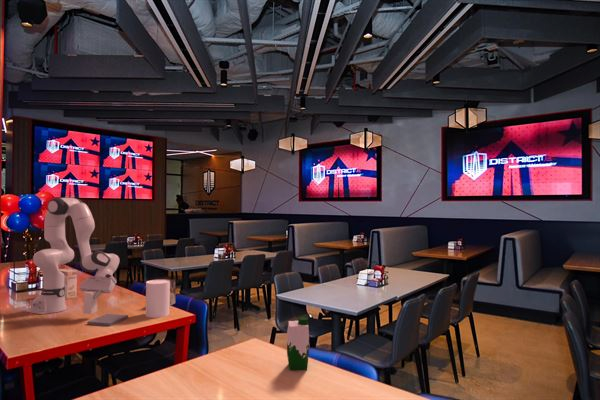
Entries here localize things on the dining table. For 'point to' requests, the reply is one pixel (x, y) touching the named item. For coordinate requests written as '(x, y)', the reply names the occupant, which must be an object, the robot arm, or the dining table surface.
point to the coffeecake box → (70, 283)
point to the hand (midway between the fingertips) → (89, 297)
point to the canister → (157, 298)
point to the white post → (90, 302)
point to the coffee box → (172, 292)
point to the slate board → (107, 319)
